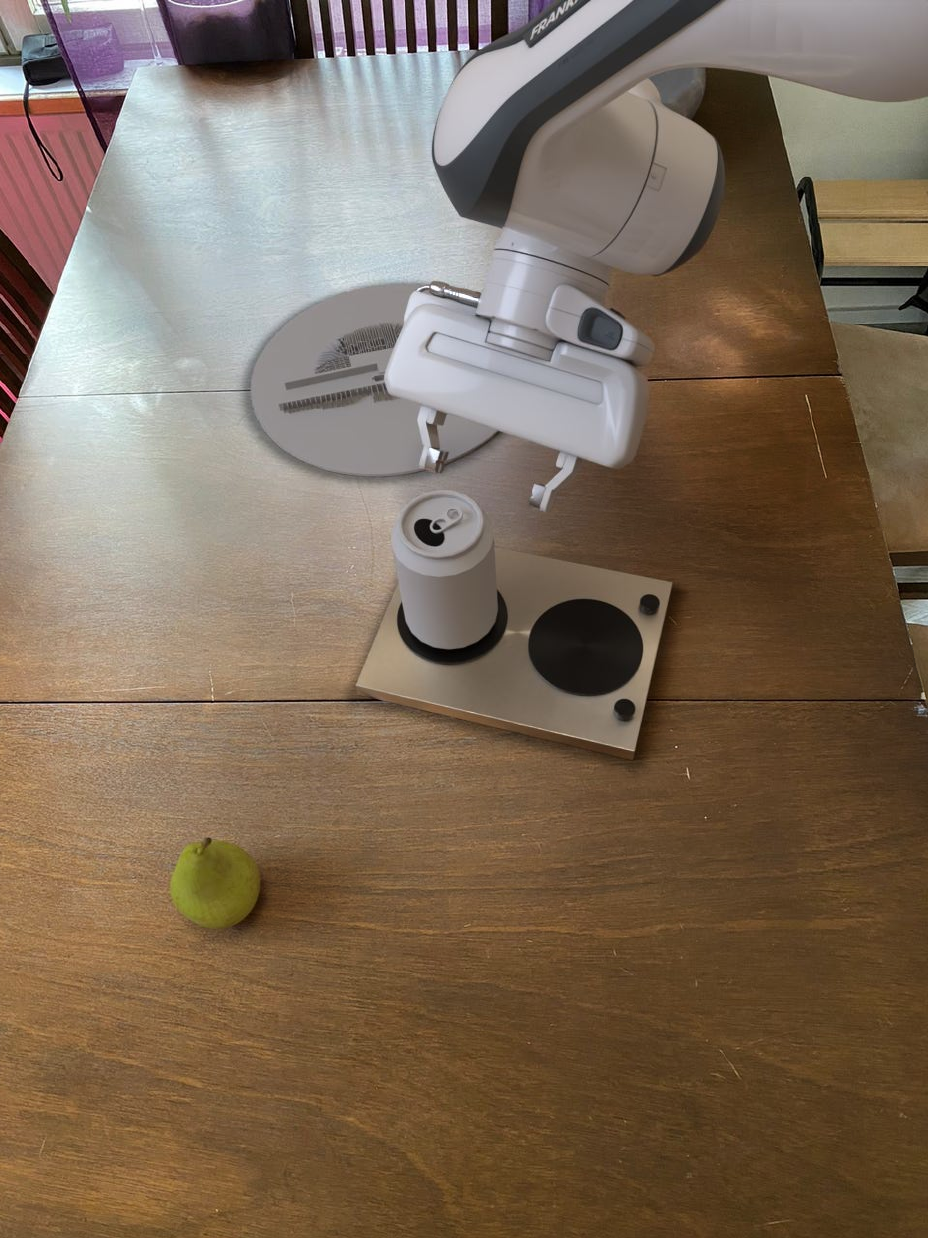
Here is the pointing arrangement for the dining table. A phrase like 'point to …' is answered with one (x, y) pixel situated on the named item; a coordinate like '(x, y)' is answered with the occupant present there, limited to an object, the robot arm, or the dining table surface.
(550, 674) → the hob
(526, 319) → the robot arm
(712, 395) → the dining table surface
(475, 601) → the can
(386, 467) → the plate
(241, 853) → the fruit
